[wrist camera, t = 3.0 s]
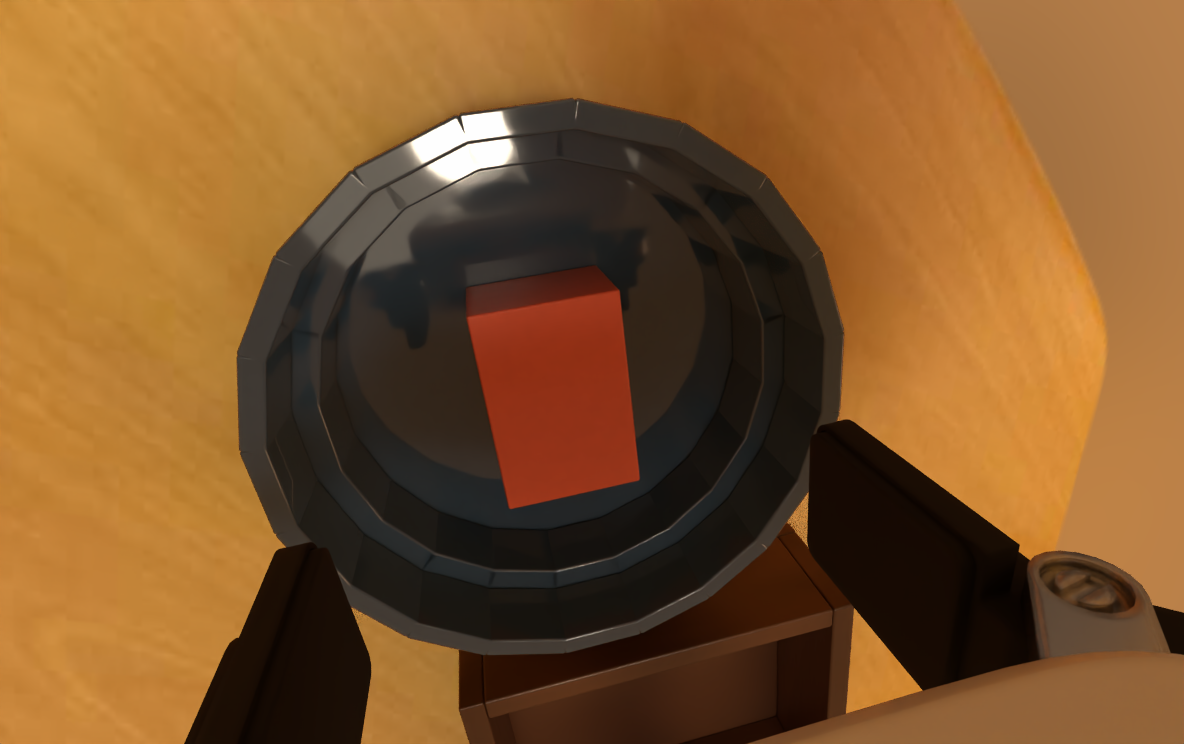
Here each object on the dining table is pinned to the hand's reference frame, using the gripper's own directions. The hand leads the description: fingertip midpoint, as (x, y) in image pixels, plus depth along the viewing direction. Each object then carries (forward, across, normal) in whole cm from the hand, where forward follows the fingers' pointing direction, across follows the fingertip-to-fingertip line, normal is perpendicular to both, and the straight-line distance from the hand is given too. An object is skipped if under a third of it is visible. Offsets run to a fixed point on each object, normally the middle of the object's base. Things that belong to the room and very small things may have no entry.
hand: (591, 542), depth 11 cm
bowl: (+9, 0, 0) cm, 9 cm away
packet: (+9, 0, 0) cm, 9 cm away
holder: (+9, -2, +15) cm, 18 cm away
